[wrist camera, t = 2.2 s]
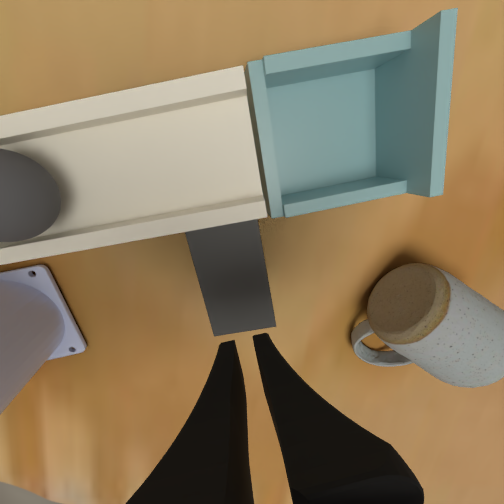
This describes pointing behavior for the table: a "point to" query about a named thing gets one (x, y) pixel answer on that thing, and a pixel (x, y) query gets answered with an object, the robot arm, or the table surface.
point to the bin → (353, 118)
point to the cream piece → (157, 183)
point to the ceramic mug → (434, 326)
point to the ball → (25, 197)
